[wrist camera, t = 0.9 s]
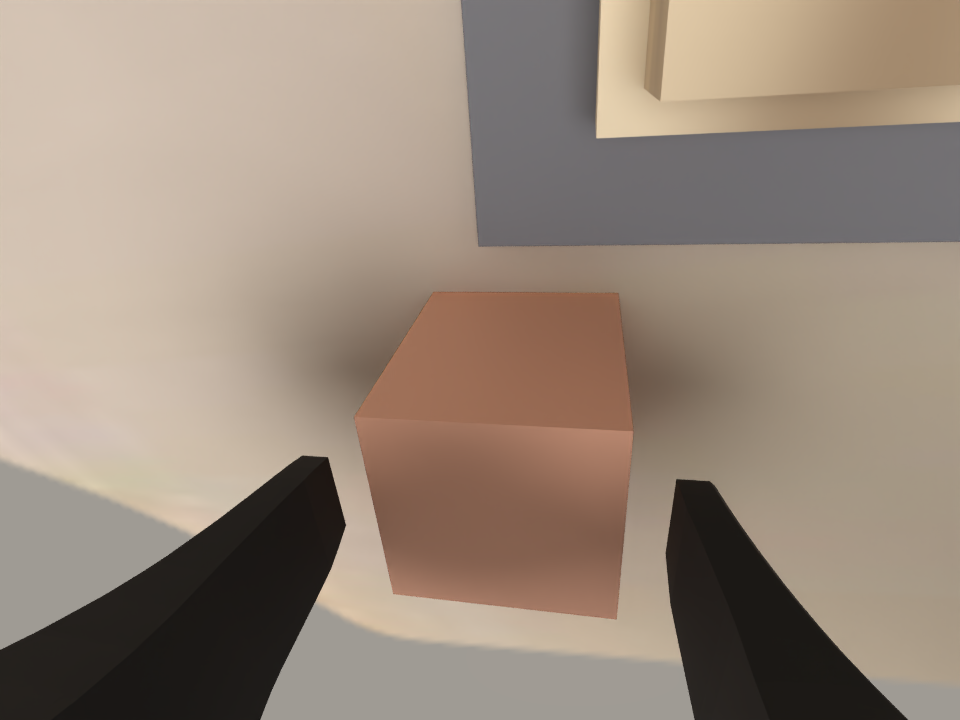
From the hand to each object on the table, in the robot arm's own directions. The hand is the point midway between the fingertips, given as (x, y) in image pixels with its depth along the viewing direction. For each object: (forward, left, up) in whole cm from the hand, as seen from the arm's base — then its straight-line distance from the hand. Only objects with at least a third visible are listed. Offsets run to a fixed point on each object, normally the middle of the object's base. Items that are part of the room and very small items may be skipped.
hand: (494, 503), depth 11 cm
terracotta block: (0, 0, -5) cm, 5 cm away
